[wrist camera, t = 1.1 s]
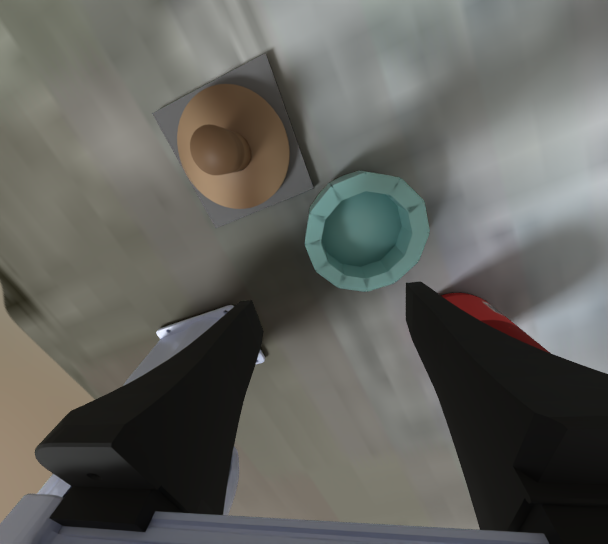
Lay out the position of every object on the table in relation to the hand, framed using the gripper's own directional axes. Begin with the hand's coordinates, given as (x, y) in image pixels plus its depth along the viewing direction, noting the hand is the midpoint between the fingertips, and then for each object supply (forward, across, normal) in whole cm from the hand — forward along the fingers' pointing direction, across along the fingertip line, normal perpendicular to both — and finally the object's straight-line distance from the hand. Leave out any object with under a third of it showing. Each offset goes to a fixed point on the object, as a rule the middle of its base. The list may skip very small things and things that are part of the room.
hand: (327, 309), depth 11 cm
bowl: (+12, -2, 0) cm, 12 cm away
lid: (+11, +6, -7) cm, 14 cm away
